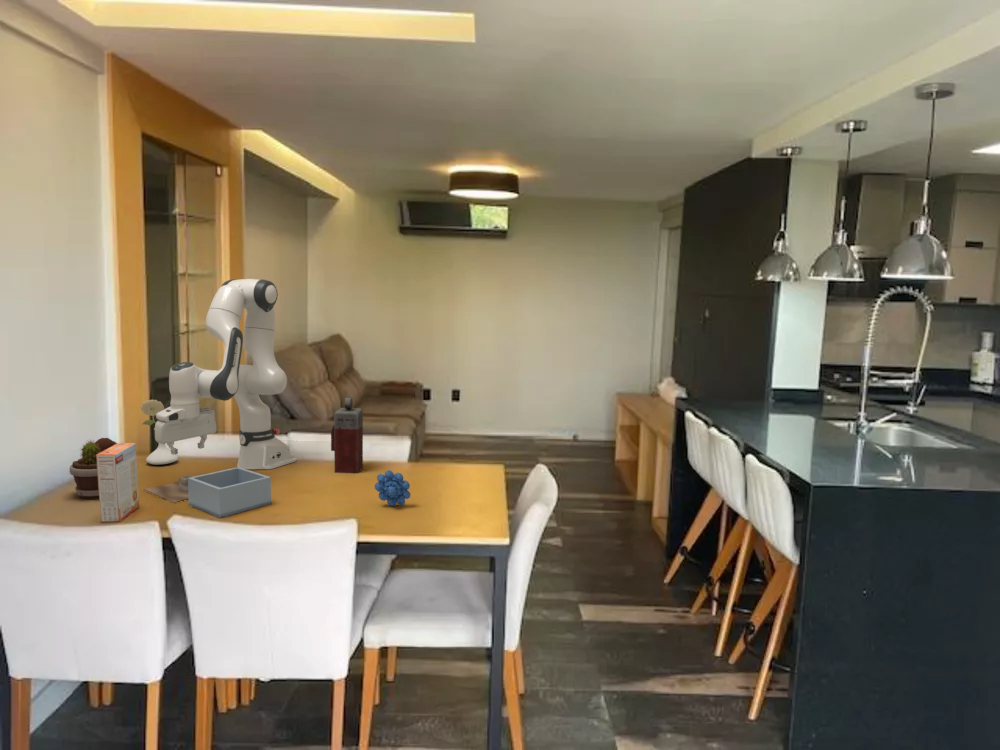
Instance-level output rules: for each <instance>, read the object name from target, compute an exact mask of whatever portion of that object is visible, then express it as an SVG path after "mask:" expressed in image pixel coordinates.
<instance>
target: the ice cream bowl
mask: <svg viewBox="0 0 1000 750" xmlns="http://www.w3.org/2000/svg"><path fill="white" fill-rule="evenodd" d="M94 442H95V444H96V445H98V446H97V447H99V449H101V450H100V451H99V450H98V453H99V452H102V451H104V450H106V449H108V448H110V447H111V446H113V445H115V444H117V443H118V442H117V441H114V440H112V439H111V438H109V437H101V438H98V439H97V440H95V441H94ZM97 443H98V444H97Z"/></svg>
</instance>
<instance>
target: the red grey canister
mask: <svg viewBox="0 0 1000 750" xmlns="http://www.w3.org/2000/svg"><path fill="white" fill-rule="evenodd" d="M353 402H354V401H353V397H345V398H344V407H340V408H339V409H337V410H336V411H334V414H333V416H334V417H333V419H334V420H333V421H334V422H333V423H334V424H333V426H332V428H331V431H330V446H331V447H330V451H331V452H334V454H333V455H334V457H333V458H334V473H335V474H336V473H337V474H339V473H341V474H359V473H360V471H361V470H362V469H363V467H364V457H363V455H364V454H363V453H364V451H363V450H364V448H363V447H364V444H363V443H364V441H363V440H364V438H363V437H364V431H363V430H364V429H363V428H364V427H363V425H364V424H363V423H364V420H363V419H364V417H363V416H364V413H363V412H364V411H363V409H362V408H360V407H359V408H357V407H353V404H354V403H353Z"/></svg>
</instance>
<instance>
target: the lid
mask: <svg viewBox="0 0 1000 750" xmlns="http://www.w3.org/2000/svg"><path fill="white" fill-rule="evenodd" d="M190 477H195V476H194V475H191V474H189V475H183V476H179V477H178V481H175V482H171V483H166V484H162V485H157V486H153V487H148V488H144V489H143V491H144V490H145V491H147V492H146V493H148V492H150V493H152V494H154V495H153V496H155V495H156V496H155V497H157V496H159V497H158V498H160V497H161V498H160V499H162V498H164V499H163V500H165V499H167V500H169V501H171V502H170V503H172V502H173V503H172V504H174V503H175V504H177V503H176V502H179V503H181V502H180V501H183V502H185V501H184V500H187V501H188V478H190ZM145 491H144V492H145ZM150 493H149V494H150ZM152 494H151V495H152ZM167 500H166V501H167ZM169 501H168V502H169Z"/></svg>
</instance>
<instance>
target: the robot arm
mask: <svg viewBox="0 0 1000 750" xmlns="http://www.w3.org/2000/svg"><path fill="white" fill-rule="evenodd" d="M278 295H279V294H278V289H277V287H276V284H274V283H273V282H272V281H270V280H267V279H257V278H242V279H236V278H235V279H234V278H233V279H229V280H225V281H224V282H223V283H222V285H221V286H220V287H219V288H218V290H217V291H216V292H215V295H214V296H213V298H212V301H211V303H210V306H209V308H208V311H207V313H206V317H205V327H206V329H207V332H209V334H210V335H212V336H213V337H214V338H216V339H218V340H219V341H221V342H223V344H224V353H223V359H222V366H221V368H220V369H217V370H214V369H205V368H201V367H199V366H196V365H195V363H194V362H191V361H185V362H184V361H183V362H178V363H175V364H174V365H172V366H171V367H170V370H169V377H168V386H169V393H170V396H171V397H170V406H168V407H166V408H164V409H163V410H162V411H160V412H158V413H157V414H156V415H155V417H156V419H157V421H155V422H156V424H155V423H154V424H155V425H154V428H155V430H154V439H155V441H156V443H160V444H165V445H167V446H168V449H169V450H171V454H173V455H174V454H177V455H178V453H179V452H178V451H179V449H178V448H176V447H174V445H175V442H179V441H183V440H187V439H193V438H197V437H199V438H200V440H199V442H198V443H196V444H197V449H204V448H205V443H206V441H207V439H208V435H214V434H216V432H217V430H218V428H217V422H216V416H215V415H216V414H215V410H214V408H212V407H210V406H209V407H207V406H206V407H203V408H202V407H200V399H199V397H201V398H208V399H215V400H219V401H225V402H227V401H229V400H231V399H232V398H234V400H235V402H236V404H237V407H238V412H239V422H240V429H239V432H238V433H239V434H238V435H239V438H238V439H239V444H240V445H239V455H238V460H237V464H236V466H237V467H241V468H244V469H247V470H272V469H277V468H279V467H282V466H285V465H288V464H292V463H295V462H297V458H296V457H295V456H293V455H291V451H290V447H289V446H288V444H286V443H284V442H283V441H282V440H280V439H279V438H277V437H276V435H279V434H280V433H281V430H280V429H279V428H272V426H271V425H272V424H271V423H272V422H271V421H272V420H271V418H272V417H271V416H272V415H271V413H272V412H271V409H270V406H268V405H267V404H266V403H265V402H263V401H262V399H261V397H260V395H262V396H272V395H279V394H282V393H283V392H284V390H285V389H286V388H287V384H288V377H287V375H286V374H287V373H285V371H284V370H283V369H282V368H281V367H280V366H279V364H278V362H277V360H276V356H275V352H274V351H275V350H274V349H275V346H274V344H275V332H276V313H275V308H274V307H275V305H276V303H277V301H278ZM244 309H245V310H246V316H245V321H244V328H243V330H244V331H243V332H242V331H241V330H240V324H241V320H242V319H241V318H242V315H243V312H244ZM243 350H244V352H246V353H247V354H248V355H250V357H251V359H252V364H241V359H242V351H243Z"/></svg>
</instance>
